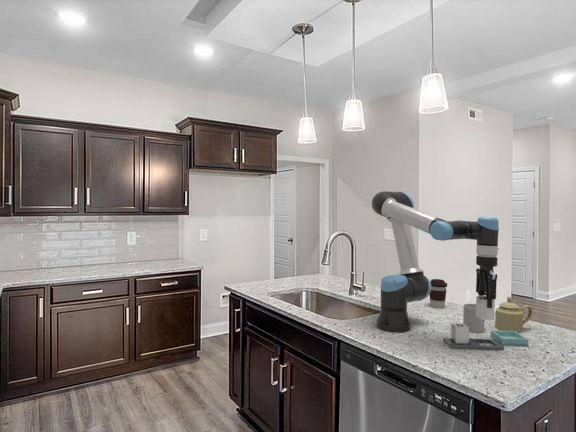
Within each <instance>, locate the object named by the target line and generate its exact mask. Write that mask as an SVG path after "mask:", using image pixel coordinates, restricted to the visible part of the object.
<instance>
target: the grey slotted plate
mask: <svg viewBox="0 0 576 432" xmlns="http://www.w3.org/2000/svg"><path fill="white" fill-rule="evenodd" d="M442 341H443V342H444V343H445V344H446V346H448V347H449V349H453V350H454V349H455V350H479V351H480V350H481V351H483V350H485V351H504V350H505V349H504V348H505V347H504V345H501V344H499V343H498V342H497V341H495V340H494V339H493V338H469V345H454V344H453V343H452V342H451V337H443V339H442ZM481 344H482V345H481ZM483 344H491V345H483Z"/></svg>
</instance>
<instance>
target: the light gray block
mask: <svg viewBox="0 0 576 432" xmlns="http://www.w3.org/2000/svg"><path fill="white" fill-rule="evenodd" d="M450 327H451V328H450V338H451V342H452V343H453V344H454V345H469V339H470V338H469V335H470V332H469V327H468V326H466V325H465V324H463V323H455V322H454V323H452V322H451V324H450Z"/></svg>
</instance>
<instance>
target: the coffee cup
mask: <svg viewBox="0 0 576 432" xmlns="http://www.w3.org/2000/svg"><path fill="white" fill-rule="evenodd" d="M430 282H431V292H430V294H429V302H430V307H431V308H433V309H443V308H445V306H446V304H445V303H446V299H447V287H448V282H445V280H444V279H441V278H440V279H439V278H431V280H430Z"/></svg>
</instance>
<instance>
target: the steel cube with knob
mask: <svg viewBox="0 0 576 432" xmlns="http://www.w3.org/2000/svg"><path fill="white" fill-rule="evenodd" d="M484 298H486V297H479V296H476V297H475V299H476V301H475V304H476V316H477V317H478V318H479V319H481V320H485V321H487V320H488V321H495V311H496V308H495V306H496V299H494V300H493V305H492V316H485V315H484V307H485V299H484Z"/></svg>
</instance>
